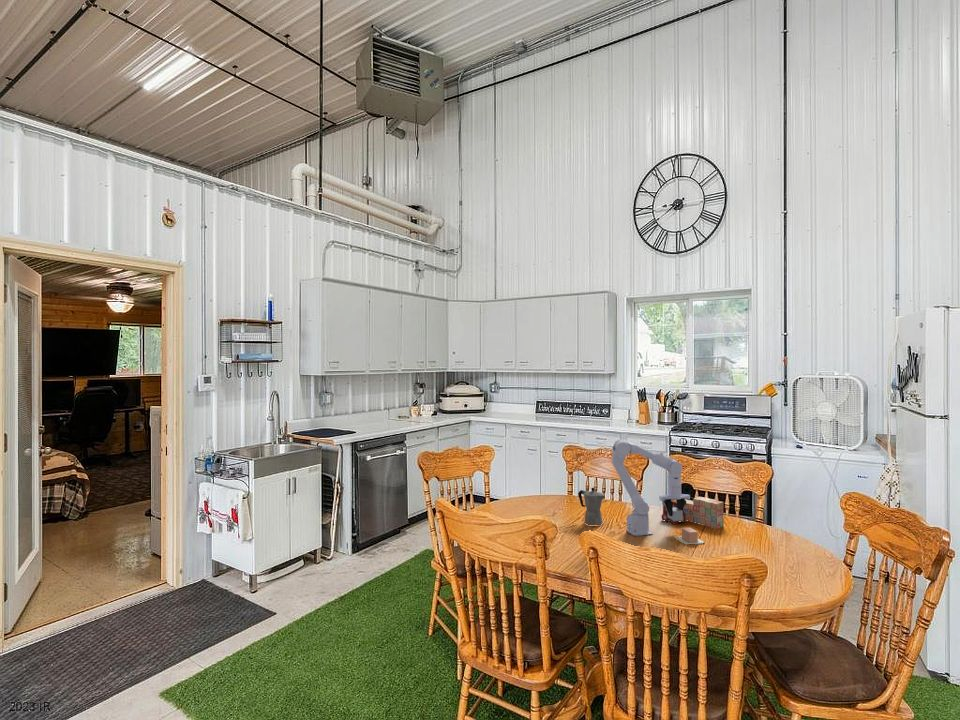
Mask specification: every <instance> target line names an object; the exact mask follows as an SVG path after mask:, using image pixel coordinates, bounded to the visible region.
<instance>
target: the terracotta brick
mask: <svg viewBox="0 0 960 720" xmlns="http://www.w3.org/2000/svg"><path fill="white" fill-rule="evenodd" d="M698 535H699V534H698V531H697V530H695V529H693V528H691V527H681V537H682V538H683V539H685V540H686V541H688V542H698V539H699V538H698V537H699V536H698Z"/></svg>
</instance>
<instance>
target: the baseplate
mask: <svg viewBox="0 0 960 720" xmlns="http://www.w3.org/2000/svg"><path fill="white" fill-rule="evenodd" d="M675 538H676V539H677V541H678V540H679V542H680V541H681V542H683V543H684V544H683V543H682V544H683V545H685V544H686V545H685V546H688V545H687V544H695V545H704V544H703V543H705V542H704V541H703V540H701V539H700V538H698V542H688V541H686V540H685V539H683V538H682V536H674V539H675ZM676 539H675V540H676ZM681 542H680V543H681ZM705 544H706V543H705Z"/></svg>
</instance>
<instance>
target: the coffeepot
mask: <svg viewBox="0 0 960 720" xmlns="http://www.w3.org/2000/svg"><path fill="white" fill-rule="evenodd" d="M590 489H591V491H587V490H582V489H580V490H579V491H578V493H577V495H578V499H579V502H580V503H579V504H580V506H581V507H583V508H586V510H585V514H584V515H585V516H584V522H583V523H586V524H588V525H601V524H602V523H604V522H603V516H602V511H601V507H602V502H603V500H604V498H606V496H605V495H604V494H603V493H602V492H599V491H595V489H596V488H595V487H591V488H590ZM582 495H583V496H582ZM583 497H584V499H583ZM602 525H603V524H602Z"/></svg>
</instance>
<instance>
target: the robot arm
mask: <svg viewBox="0 0 960 720" xmlns="http://www.w3.org/2000/svg"><path fill="white" fill-rule="evenodd" d="M611 453H612V454H611V464H612V466H613V468H614V469H615V471H616V473H617V475H618V476H619V479H620V481H621V482H622V484H623V486H624V489H625V490H626V492H627V494H628V496H629V498H630V500H631V506H632V508H633V510H632V512H631V513H630V514H627V516H626V531H627V532H628V533H629V534H631V535H632V536H636V537H637V536H647V535H648V536H649V534H651V535H653V532H651V531H649V529H650V528H649V527H650V526H649V525H650V524H649V512H650V506H649V504H648V503H647V502H646V501H645V498H643V497H642V496H641V494H640V492H639V491H638V489H637V486H636V485H635V482H634V481H633V479H632V477H631V476H630V473H629V471H628V469H627V468H626V466H625V464H624V462H625V459H626V457H628V455H629V454H630V455H633V454H637V455H639V456H642V457H644V458H647V459H648V460H651V462H652V464H654V465H656V466H658V467H660V468H662V469H664V470H667V494H664V495H658V496H659V498H658V499H659V501H661V502H662V501H664V503H665V505H666V507H667V510H668V514H669V516H672V514H673V512H672V509H673V502H672V501H675V502H676V503H677V508H678V509H680V510H682V511H683V508H684V506H685V504H686V500H691V495H690V494H685V493H682V471H683V466H682V464H681V462H679V461H677V460H676V459H675V458H674V457H669V456H667V455H665V454H664V452H661V451H660V452H655V453H654V452H652V451H649V450H647V449H645V448H643V446H642V447H641V446H639V445H638V444H635V443H633V442H630V441H625V440H624V439H617V440H616V441H615V442H614V444H613V446H612V452H611ZM685 499H686V500H685Z"/></svg>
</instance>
